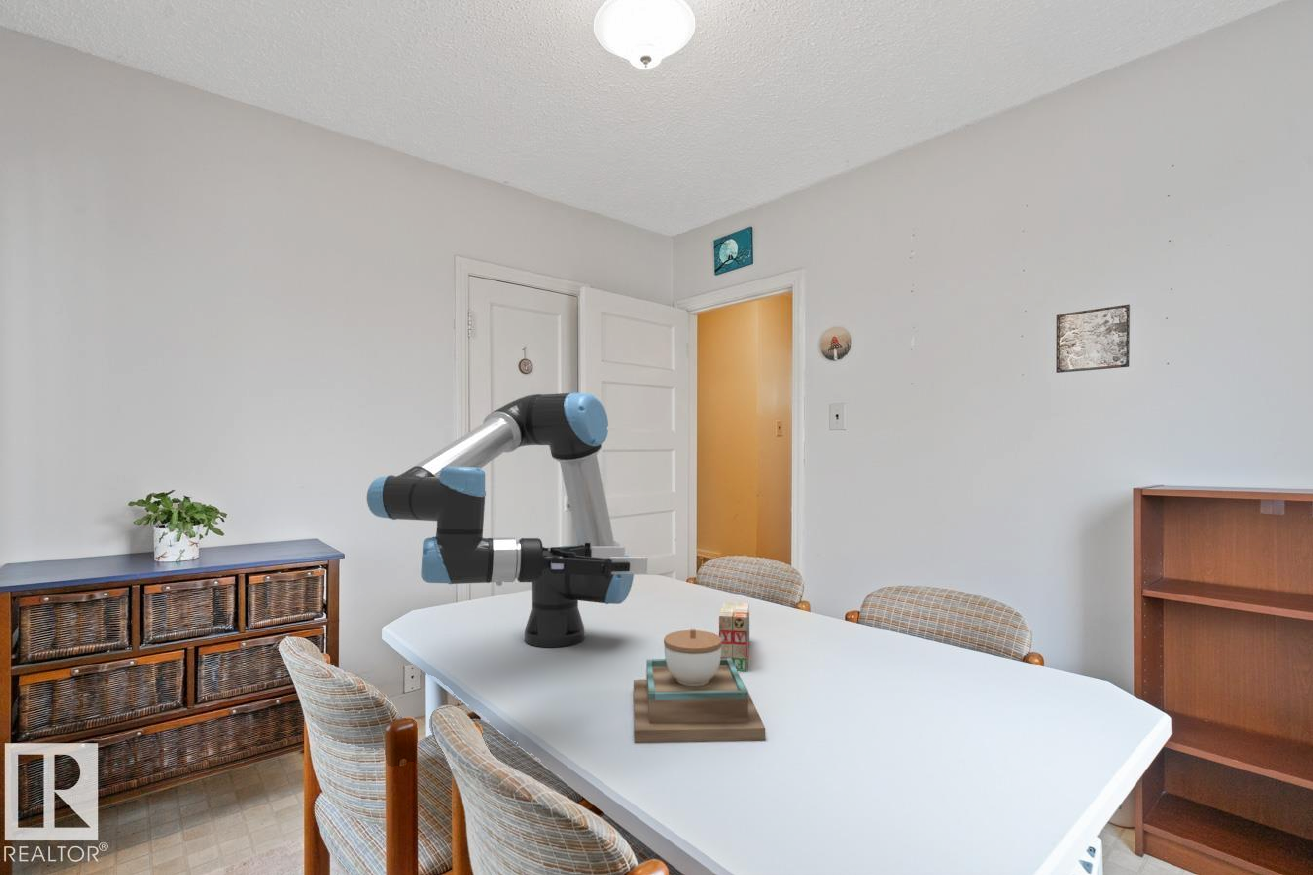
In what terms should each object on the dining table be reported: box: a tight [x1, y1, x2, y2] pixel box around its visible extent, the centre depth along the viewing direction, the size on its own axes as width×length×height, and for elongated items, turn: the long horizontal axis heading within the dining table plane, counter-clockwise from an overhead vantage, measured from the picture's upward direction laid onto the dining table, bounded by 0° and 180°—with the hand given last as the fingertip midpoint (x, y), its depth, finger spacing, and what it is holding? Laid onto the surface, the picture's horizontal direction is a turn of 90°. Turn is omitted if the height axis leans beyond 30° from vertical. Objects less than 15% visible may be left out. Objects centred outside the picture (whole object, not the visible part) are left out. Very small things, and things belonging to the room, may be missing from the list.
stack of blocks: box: [718, 601, 750, 673], centre depth 146 cm, size 21×6×12 cm, turn 170°
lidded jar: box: [663, 628, 722, 686], centre depth 114 cm, size 11×11×9 cm
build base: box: [633, 658, 766, 744], centre depth 114 cm, size 22×22×7 cm
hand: (634, 559), depth 113 cm, fingers open, 13 cm apart
